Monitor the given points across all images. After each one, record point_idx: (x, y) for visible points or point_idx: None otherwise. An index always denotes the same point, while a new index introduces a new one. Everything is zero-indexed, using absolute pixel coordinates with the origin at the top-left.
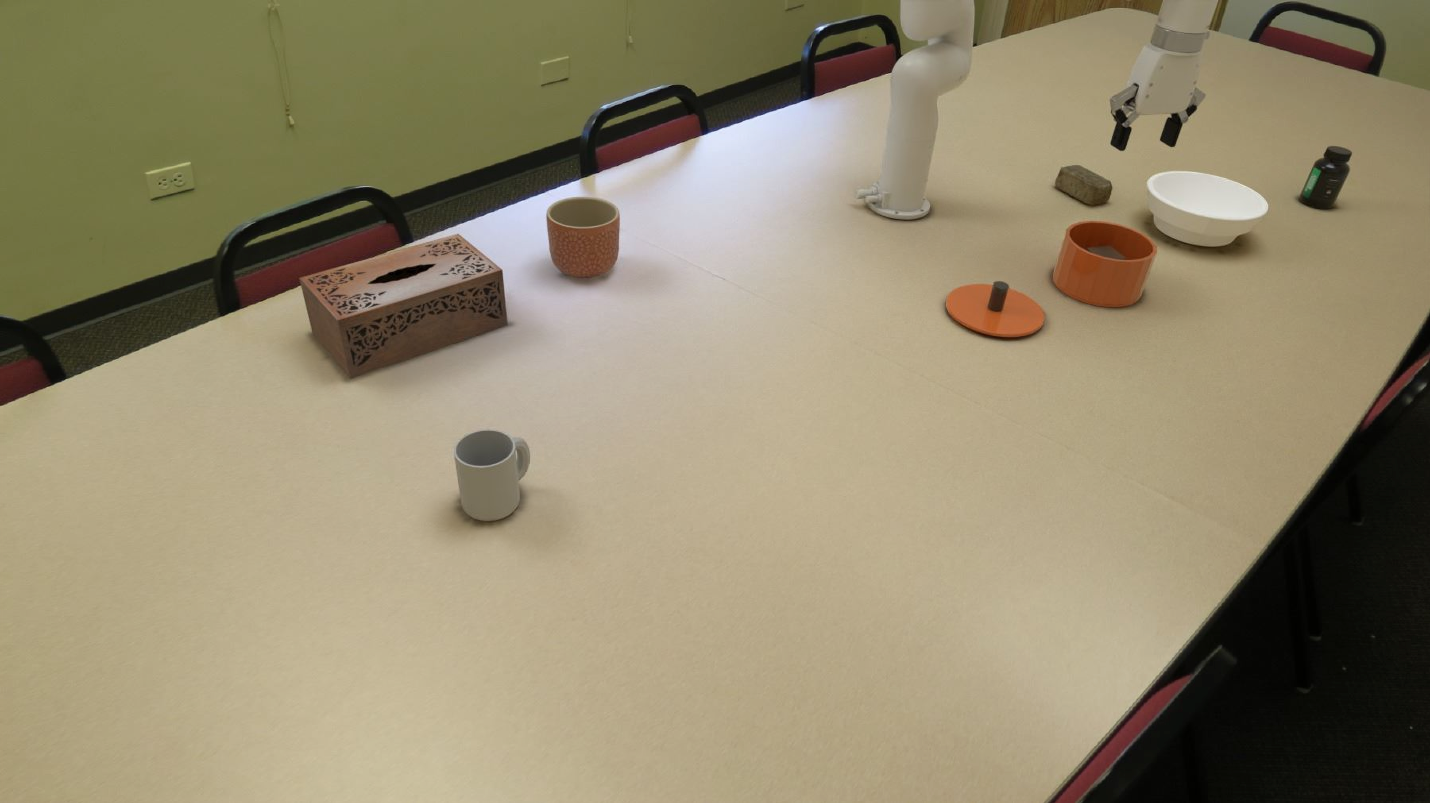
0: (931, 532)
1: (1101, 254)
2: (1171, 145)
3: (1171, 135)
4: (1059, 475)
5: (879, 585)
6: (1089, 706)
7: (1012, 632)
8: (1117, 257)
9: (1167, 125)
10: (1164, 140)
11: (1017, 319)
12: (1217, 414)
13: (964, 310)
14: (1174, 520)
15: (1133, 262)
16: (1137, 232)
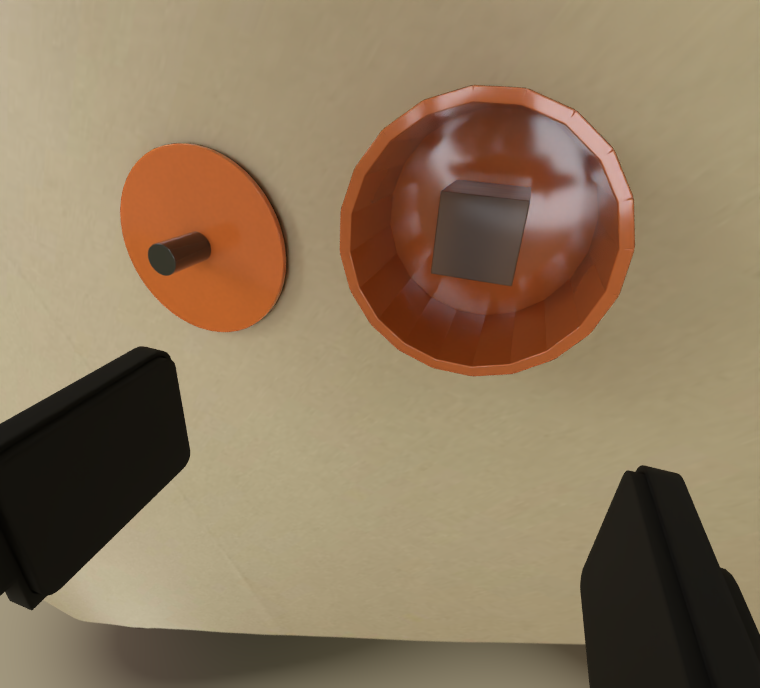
0: None
1: (455, 241)
2: (584, 589)
3: (599, 646)
4: (162, 515)
5: None
6: (110, 615)
7: (84, 572)
8: (488, 272)
9: (654, 662)
10: (613, 528)
11: (222, 294)
12: (384, 553)
13: (144, 233)
14: (232, 589)
15: (438, 368)
16: (619, 235)
